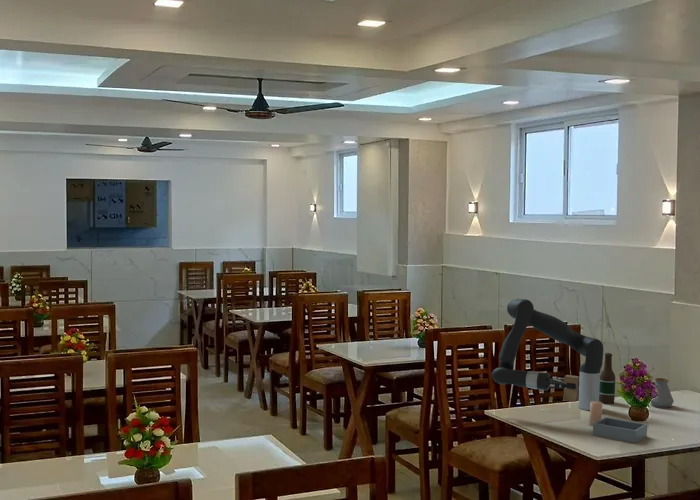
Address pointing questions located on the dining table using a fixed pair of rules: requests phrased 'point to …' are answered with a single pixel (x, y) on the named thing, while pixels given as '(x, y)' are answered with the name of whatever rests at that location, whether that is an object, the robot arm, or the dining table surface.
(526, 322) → the robot arm
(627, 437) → the blue-gray tote
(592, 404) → the terracotta cylinder
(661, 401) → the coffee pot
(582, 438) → the dining table surface
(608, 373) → the beer bottle
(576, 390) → the walnut block
